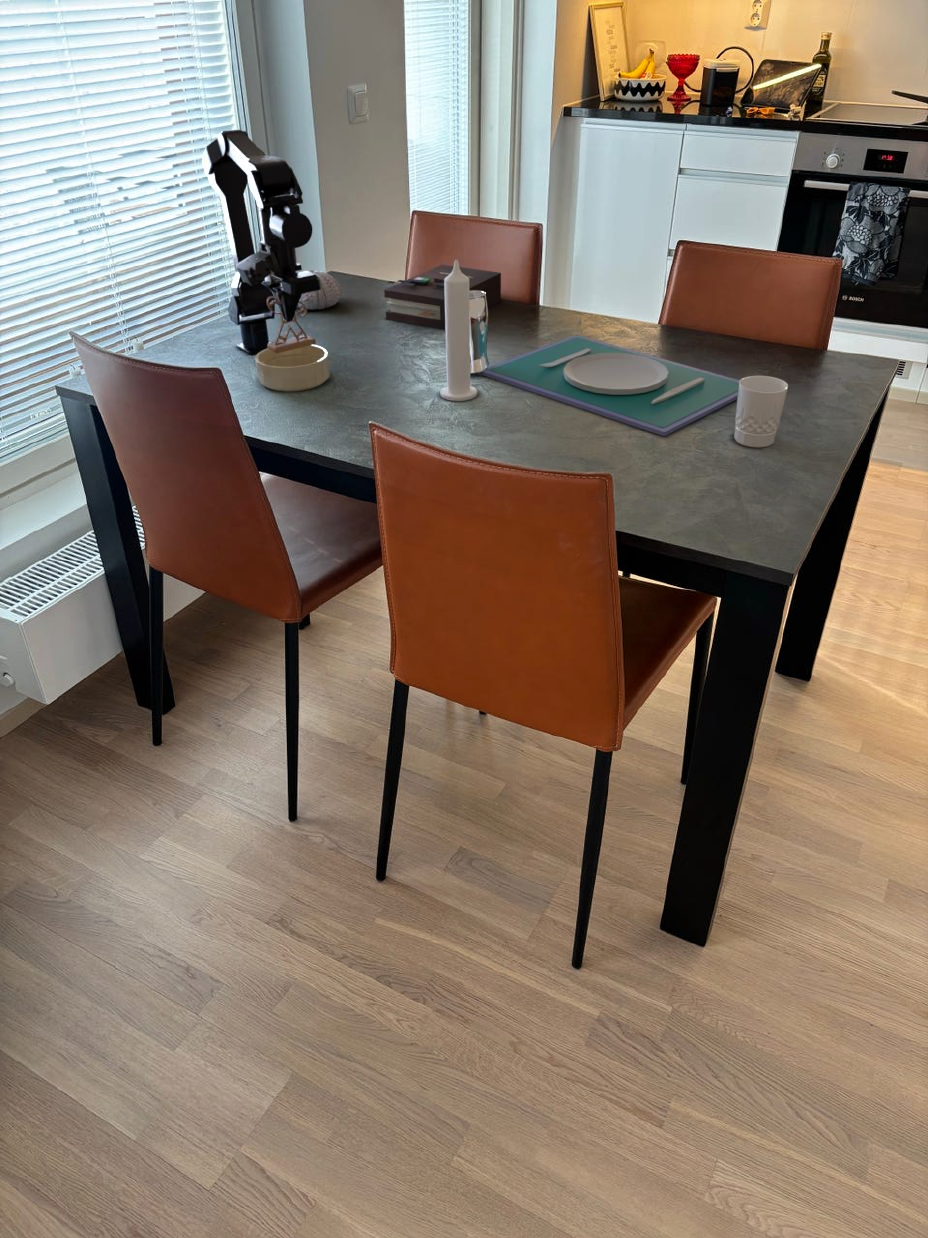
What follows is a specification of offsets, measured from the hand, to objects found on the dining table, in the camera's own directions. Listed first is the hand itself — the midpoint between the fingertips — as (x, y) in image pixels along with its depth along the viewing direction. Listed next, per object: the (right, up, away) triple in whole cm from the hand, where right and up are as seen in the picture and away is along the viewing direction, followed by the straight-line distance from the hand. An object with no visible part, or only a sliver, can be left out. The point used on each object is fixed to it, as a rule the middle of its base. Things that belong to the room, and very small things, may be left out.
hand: (288, 320), depth 183 cm
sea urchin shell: (-2, +19, +49) cm, 52 cm away
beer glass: (+36, -8, +8) cm, 38 cm away
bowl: (0, -10, +6) cm, 12 cm away
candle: (+33, -15, -2) cm, 36 cm away
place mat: (+64, -11, +3) cm, 65 cm away
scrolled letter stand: (0, -4, +3) cm, 5 cm away
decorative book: (+30, +16, +43) cm, 55 cm away
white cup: (+84, -27, -21) cm, 91 cm away
